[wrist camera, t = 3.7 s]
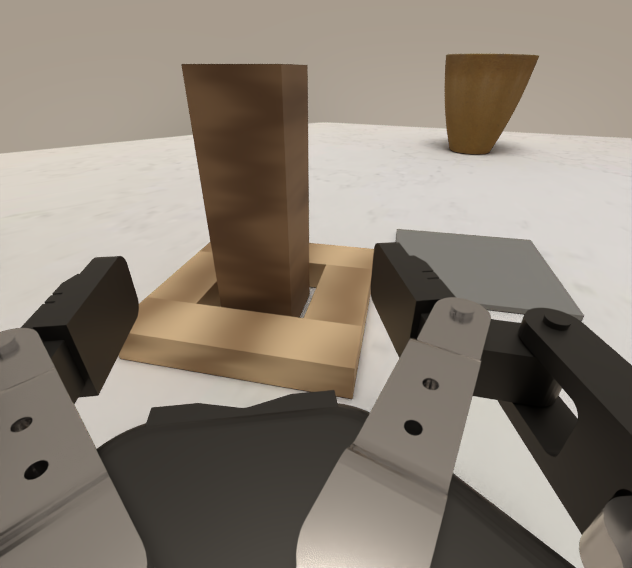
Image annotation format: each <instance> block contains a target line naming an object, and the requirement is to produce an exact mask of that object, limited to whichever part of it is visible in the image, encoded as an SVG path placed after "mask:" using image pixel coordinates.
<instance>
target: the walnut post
mask: <svg viewBox="0 0 632 568" xmlns="http://www.w3.org/2000/svg"><path fill="white" fill-rule="evenodd" d="M182 71H183V76H184V83H185V89H186V95H187V101H188V108H189V114H190V119H191V125H192V132H193V138H194V144H195V150H196V156H197V162H198V169H199V175H200V181H201V187H202V193H203V199H204V205H205V211H206V217H207V223H208V230H209V236H210V242H211V248H212V254H213V260H214V266H215V272H216V278H217V284H218V291H219V297H220V303H221V307H224V308H231V309H239V310H246V311H254V312H261V313H268V314H276V315H283V316H291V317H298V318H299V317H300V315H301V313H302V310H303V308H304V306H305V304H306V301H307V299H308V297H309V294H310V293H309V184H308V76H307V65H293V64H182Z"/></svg>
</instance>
